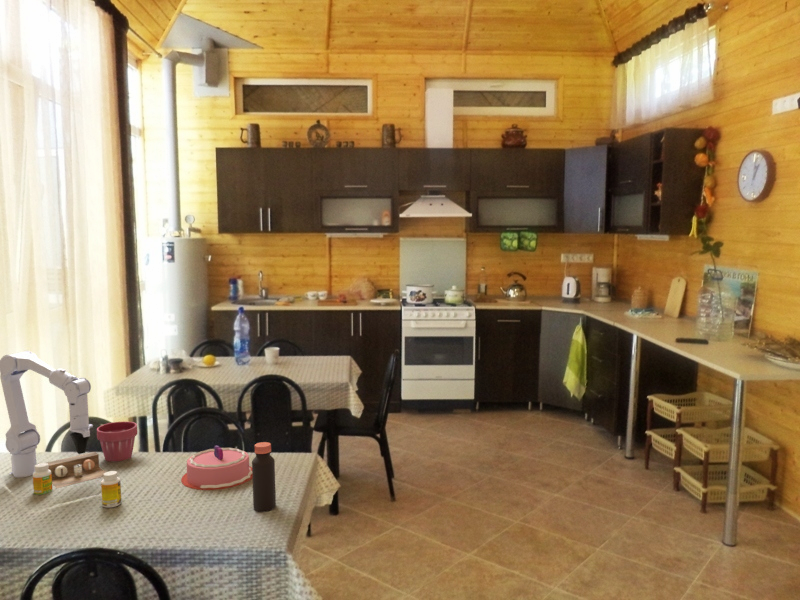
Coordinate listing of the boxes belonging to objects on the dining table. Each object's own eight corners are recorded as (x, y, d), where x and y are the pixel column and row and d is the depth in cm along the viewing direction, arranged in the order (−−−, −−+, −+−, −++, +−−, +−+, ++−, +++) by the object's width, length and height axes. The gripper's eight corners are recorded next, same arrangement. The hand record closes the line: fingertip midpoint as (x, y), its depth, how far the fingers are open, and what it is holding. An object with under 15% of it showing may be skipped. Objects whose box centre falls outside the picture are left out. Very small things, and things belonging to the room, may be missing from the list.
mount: (43, 477, 222) (42, 462, 221) (94, 465, 234) (93, 451, 233) (57, 490, 210) (55, 474, 210) (110, 477, 222) (109, 461, 221)
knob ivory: (49, 472, 224) (48, 462, 224) (60, 469, 226) (60, 459, 226) (56, 478, 218) (56, 468, 217) (68, 475, 220) (67, 465, 220)
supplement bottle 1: (44, 497, 205) (42, 468, 204) (29, 496, 206) (28, 467, 205) (56, 491, 210) (54, 462, 209) (42, 489, 211) (40, 461, 210)
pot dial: (73, 476, 220) (72, 465, 220) (81, 474, 222) (80, 463, 222) (75, 478, 219) (74, 466, 218) (83, 476, 220) (83, 465, 220)
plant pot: (138, 462, 237) (137, 429, 235) (97, 468, 231) (95, 433, 230) (138, 451, 250) (137, 419, 249) (99, 456, 244) (97, 423, 243)
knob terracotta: (76, 465, 230) (76, 456, 230) (87, 463, 233) (86, 453, 232) (84, 471, 224) (83, 462, 224) (95, 469, 226) (94, 459, 226)
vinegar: (256, 514, 190) (254, 449, 189) (251, 505, 196) (248, 443, 195) (278, 509, 194) (276, 445, 192) (272, 501, 200) (270, 439, 198)
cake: (266, 479, 219) (265, 449, 218) (193, 496, 205) (192, 464, 204) (240, 459, 239) (239, 432, 238) (172, 474, 225) (171, 444, 224)
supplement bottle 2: (122, 506, 197) (120, 474, 196) (102, 509, 195) (100, 477, 194) (121, 499, 202) (119, 468, 201) (102, 503, 200) (100, 471, 199)
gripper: (98, 416, 214) (100, 455, 215) (84, 408, 224) (86, 445, 226) (76, 420, 209) (78, 460, 210) (62, 412, 220) (65, 450, 221)
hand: (81, 453), depth 218 cm, fingers closed
